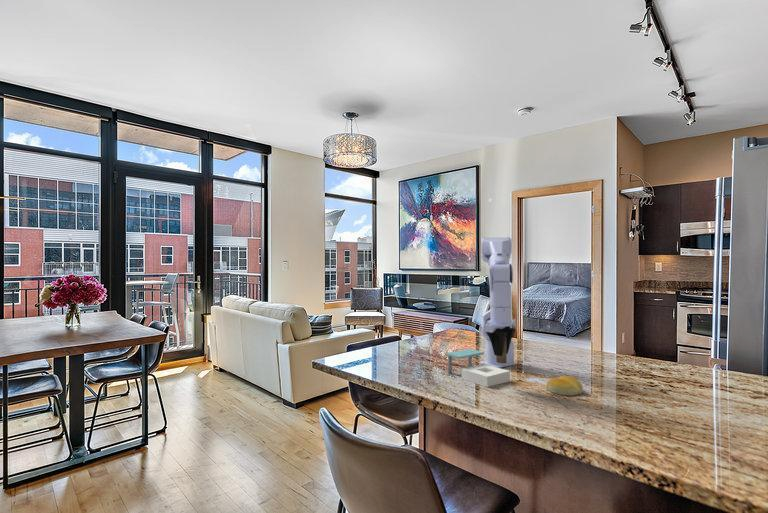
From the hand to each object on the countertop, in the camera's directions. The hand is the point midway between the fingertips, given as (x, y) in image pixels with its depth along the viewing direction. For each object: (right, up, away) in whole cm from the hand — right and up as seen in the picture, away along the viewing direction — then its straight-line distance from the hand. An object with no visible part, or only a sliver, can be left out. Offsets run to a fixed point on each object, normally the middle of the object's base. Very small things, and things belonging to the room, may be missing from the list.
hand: (501, 354), depth 112 cm
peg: (0, -2, 0) cm, 2 cm away
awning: (-7, -10, +15) cm, 19 cm away
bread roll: (+17, -10, -3) cm, 19 cm away
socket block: (-3, -9, +7) cm, 12 cm away
